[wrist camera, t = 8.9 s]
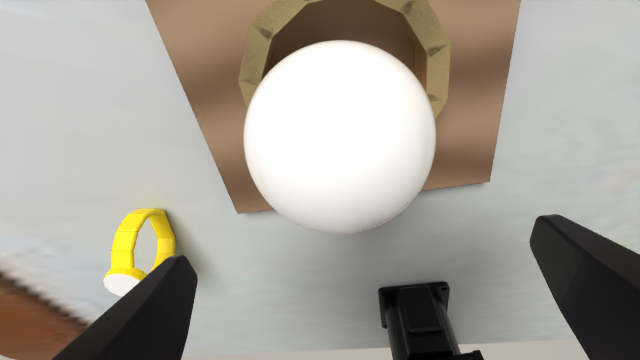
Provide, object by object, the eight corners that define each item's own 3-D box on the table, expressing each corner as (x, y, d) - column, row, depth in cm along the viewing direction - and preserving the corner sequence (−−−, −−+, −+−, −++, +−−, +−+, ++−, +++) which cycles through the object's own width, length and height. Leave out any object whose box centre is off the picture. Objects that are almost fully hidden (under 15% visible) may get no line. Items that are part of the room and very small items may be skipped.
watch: (189, 245, 27) (162, 311, 22) (158, 245, 27) (124, 311, 23) (166, 195, 23) (128, 261, 19) (130, 195, 23) (82, 261, 19)
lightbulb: (307, 141, 20) (295, 295, 11) (251, 44, 16) (165, 150, 7) (405, 98, 18) (488, 238, 9) (365, -19, 15) (433, 17, 6)
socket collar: (428, 136, 19) (443, 161, 17) (278, 158, 20) (271, 185, 18) (433, -55, 14) (458, -59, 11) (228, -12, 15) (209, -7, 12)
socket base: (483, 173, 22) (489, 181, 21) (240, 205, 24) (237, 213, 23) (543, -214, 12) (559, -227, 11) (111, -104, 14) (98, -109, 13)
